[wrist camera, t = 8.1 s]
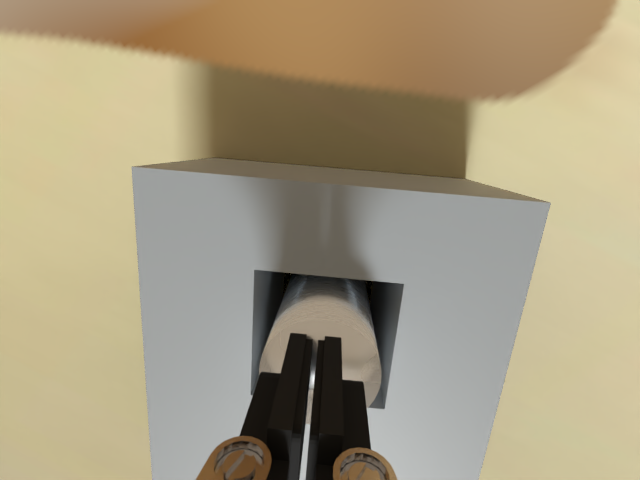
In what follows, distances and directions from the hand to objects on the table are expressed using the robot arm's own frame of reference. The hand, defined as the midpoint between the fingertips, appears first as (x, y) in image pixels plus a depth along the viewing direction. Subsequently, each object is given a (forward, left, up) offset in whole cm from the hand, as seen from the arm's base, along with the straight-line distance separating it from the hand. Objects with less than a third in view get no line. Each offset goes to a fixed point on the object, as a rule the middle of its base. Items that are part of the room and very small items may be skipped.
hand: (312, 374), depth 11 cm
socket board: (0, +5, -10) cm, 11 cm away
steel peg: (0, 0, -8) cm, 8 cm away
